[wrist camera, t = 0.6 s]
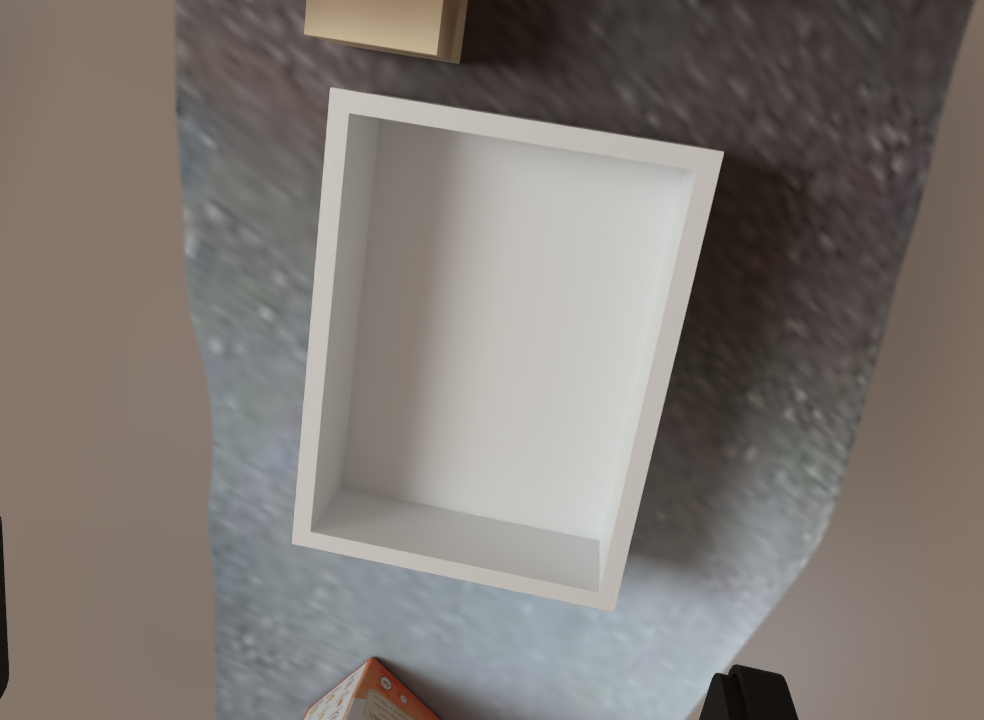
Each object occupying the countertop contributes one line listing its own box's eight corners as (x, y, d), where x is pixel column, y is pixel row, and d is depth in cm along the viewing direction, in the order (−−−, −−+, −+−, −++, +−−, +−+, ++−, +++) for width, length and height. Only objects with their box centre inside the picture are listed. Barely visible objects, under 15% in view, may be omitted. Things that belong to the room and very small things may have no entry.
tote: (368, 91, 34) (330, 87, 29) (706, 147, 33) (724, 151, 28) (328, 493, 40) (291, 543, 35) (612, 551, 39) (613, 612, 34)
